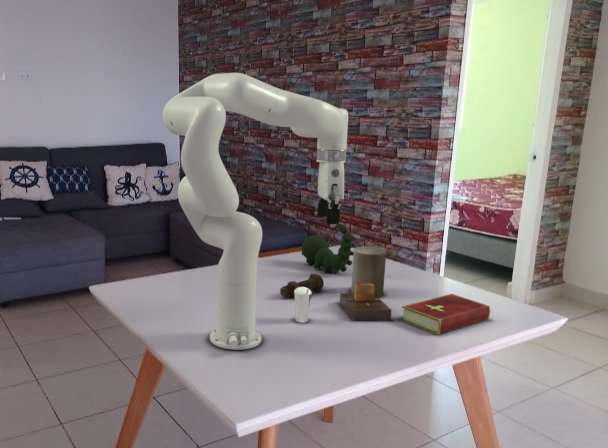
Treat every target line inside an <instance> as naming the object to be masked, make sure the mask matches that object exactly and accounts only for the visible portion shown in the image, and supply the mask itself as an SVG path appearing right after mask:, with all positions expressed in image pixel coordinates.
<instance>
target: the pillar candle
mask: <svg viewBox="0 0 608 448" xmlns="http://www.w3.org/2000/svg"><path fill="white" fill-rule="evenodd" d="M353 252H354V255H353V257H352V271H351V272H352V274H351V288H350V290H351V291H350V292H351V293H354V289H355V284H356V283H360V284H367V283H372V284H373V285H374V286H375V287H374V294H375V295H376V296H377V297H378V298H381V297H383V295H384V288H385V274H386V261H387V250H386V249H385V248H381V247H377V246H372V245H370V246H369V245H367V246H365V245H364V246H357V247H353Z"/></svg>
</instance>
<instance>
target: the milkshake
mask: <svg viewBox="0 0 608 448" xmlns="http://www.w3.org/2000/svg"><path fill="white" fill-rule="evenodd" d="M312 293H313V291H312V290H310V289H309V288H306V287H299V288H296V289H295V290H294V296H295V297H294V314H295V315H294V318H295V319H294V320H295V322H297V323H301V324H302V323H303V324H304V323H307V322H308V321H309V315H310V307H311V299H312Z"/></svg>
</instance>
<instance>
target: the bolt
mask: <svg viewBox="0 0 608 448" xmlns="http://www.w3.org/2000/svg"><path fill="white" fill-rule="evenodd" d="M324 285H325V282H324V279H323V277H322V275H320V274H318V273H310V274H309V277H308V279H305V280H301V281H298V282H297V281H295V280H291V281H288V282H287V284H286V285H284V286H282V287H281V288H279V291H280V292H279V294H280V296H282V297H283V298H287V297H291V298H295V296H294V290H295V289H296V288H299V287H306V288H309V289H310V290H311V291H314V292H317V293H318V292H321V291H322V290H323V288H324Z"/></svg>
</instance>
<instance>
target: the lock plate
mask: <svg viewBox="0 0 608 448" xmlns="http://www.w3.org/2000/svg"><path fill="white" fill-rule="evenodd" d="M339 304H340V305H341V307H342V308H343V309H344V310H345V311H346V313H347V314H348V315H349V317H350V318H351V319H352V320H353V321H354V322H355V321H357V322H358V321H359V322H360V321H361V322H362V321H363V322H365V321H391V320H392V318H391V317H392V309H391V308H390V307H389V306H388V305H387V304H386V303H385V302H384V301H383V300H382V299H380V297H377V296H376V295H375V294H374V301H356V300H355V299H354V293H352V292H340V294H339Z"/></svg>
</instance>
